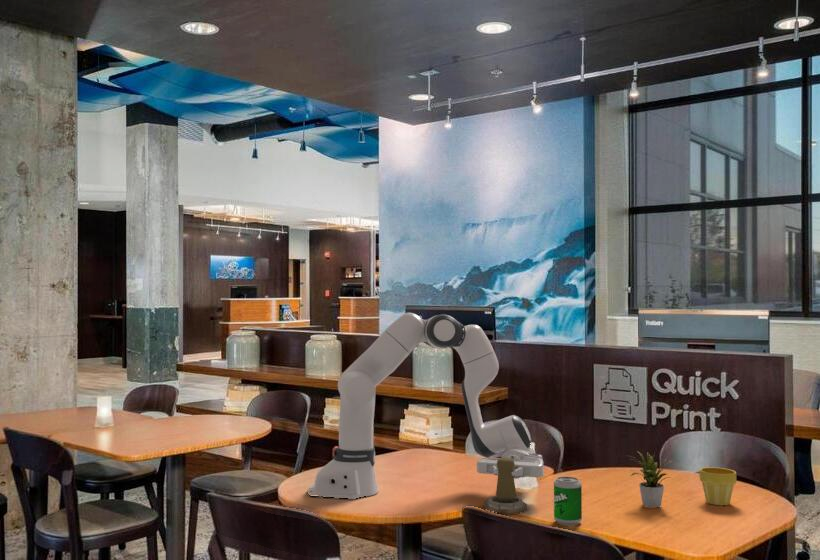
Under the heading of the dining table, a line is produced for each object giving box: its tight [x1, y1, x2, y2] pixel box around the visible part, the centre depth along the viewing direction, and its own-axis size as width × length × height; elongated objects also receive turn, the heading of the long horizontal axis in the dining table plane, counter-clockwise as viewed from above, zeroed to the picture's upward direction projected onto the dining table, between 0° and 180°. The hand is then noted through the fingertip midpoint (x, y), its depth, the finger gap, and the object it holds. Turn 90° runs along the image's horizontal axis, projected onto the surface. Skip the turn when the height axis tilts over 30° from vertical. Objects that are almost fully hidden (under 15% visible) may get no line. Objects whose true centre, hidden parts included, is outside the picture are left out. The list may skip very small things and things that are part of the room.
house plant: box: [625, 451, 674, 508], centre depth 229 cm, size 14×14×16 cm
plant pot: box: [698, 466, 737, 507], centre depth 231 cm, size 10×10×10 cm
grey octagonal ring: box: [482, 495, 528, 515], centre depth 225 cm, size 13×13×2 cm
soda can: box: [553, 476, 583, 527], centre depth 211 cm, size 8×8×12 cm
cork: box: [495, 457, 517, 498], centre depth 225 cm, size 6×6×11 cm
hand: (504, 473), depth 224 cm, fingers closed on cork, 4 cm apart
